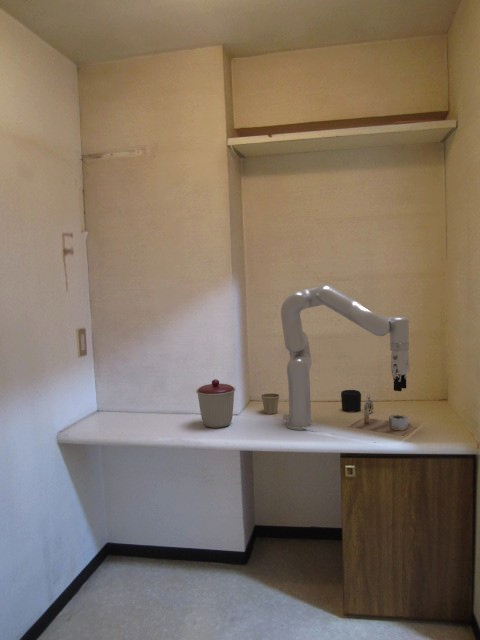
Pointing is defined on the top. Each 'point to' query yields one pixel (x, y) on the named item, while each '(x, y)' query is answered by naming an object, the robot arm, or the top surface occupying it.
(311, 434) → the top surface
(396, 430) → the brass hub
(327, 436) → the top surface
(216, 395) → the canister
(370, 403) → the pocket watch
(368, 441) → the top surface
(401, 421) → the steel ring
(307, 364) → the robot arm
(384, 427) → the walnut board
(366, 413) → the stand rod
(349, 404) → the pen holder
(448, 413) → the top surface
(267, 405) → the flower pot
